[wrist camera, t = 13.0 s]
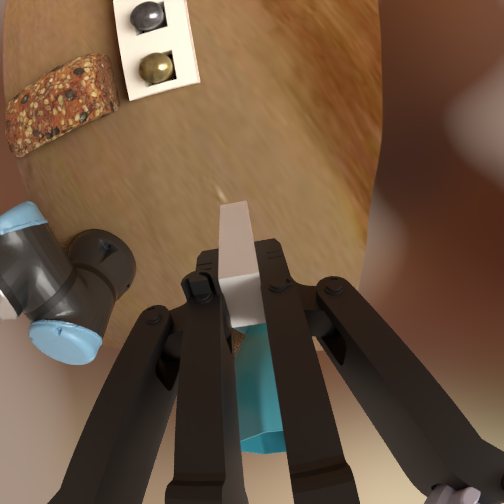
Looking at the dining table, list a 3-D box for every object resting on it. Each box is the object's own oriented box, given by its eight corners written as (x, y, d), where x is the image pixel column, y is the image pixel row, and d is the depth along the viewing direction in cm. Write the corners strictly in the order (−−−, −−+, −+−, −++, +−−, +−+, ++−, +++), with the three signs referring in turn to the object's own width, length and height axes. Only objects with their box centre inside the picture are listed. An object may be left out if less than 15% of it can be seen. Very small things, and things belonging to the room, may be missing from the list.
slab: (137, 99, 35) (129, 100, 32) (119, -22, 22) (110, -29, 19) (200, 82, 35) (197, 82, 32) (179, -40, 22) (176, -50, 19)
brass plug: (152, 86, 34) (141, 86, 30) (147, 61, 32) (136, 58, 27) (180, 79, 34) (173, 77, 29) (175, 53, 32) (167, 48, 27)
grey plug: (143, 38, 30) (131, 32, 25) (140, 16, 27) (128, 7, 22) (171, 30, 30) (163, 22, 25) (167, 7, 27) (159, -3, 22)
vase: (220, 293, 58) (222, 432, 33) (302, 285, 58) (343, 415, 34) (228, 343, 67) (234, 458, 42) (297, 336, 68) (323, 446, 43)
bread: (41, 147, 37) (8, 164, 28) (28, 97, 31) (-6, 105, 22) (125, 110, 36) (99, 118, 28) (113, 52, 30) (85, 46, 22)
